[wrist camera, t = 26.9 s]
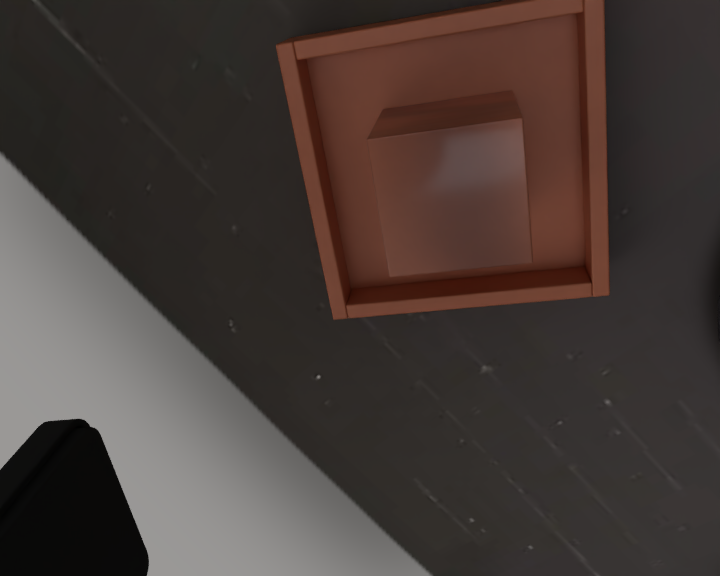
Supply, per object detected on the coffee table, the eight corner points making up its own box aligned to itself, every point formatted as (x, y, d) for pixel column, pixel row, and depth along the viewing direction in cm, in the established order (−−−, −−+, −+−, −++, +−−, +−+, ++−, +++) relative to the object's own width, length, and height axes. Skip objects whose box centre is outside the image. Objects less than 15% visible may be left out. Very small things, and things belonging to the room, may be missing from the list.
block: (400, 228, 26) (389, 278, 22) (382, 109, 24) (365, 139, 20) (521, 214, 25) (533, 263, 21) (512, 89, 23) (523, 117, 19)
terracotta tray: (341, 296, 28) (333, 320, 26) (289, 38, 24) (274, 44, 22) (599, 271, 26) (610, 295, 24) (592, -15, 22) (604, -13, 20)
